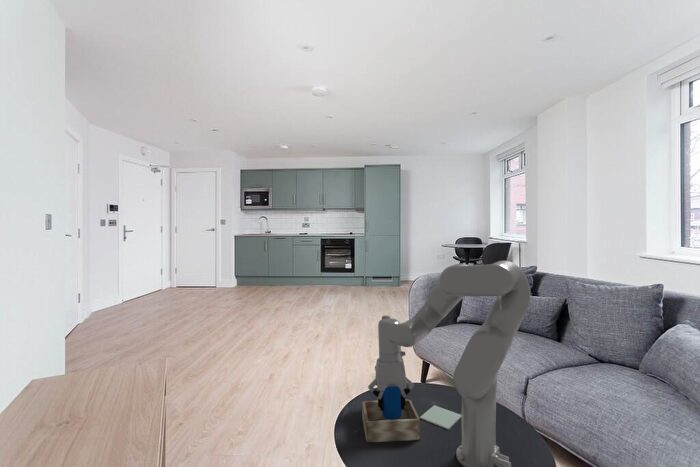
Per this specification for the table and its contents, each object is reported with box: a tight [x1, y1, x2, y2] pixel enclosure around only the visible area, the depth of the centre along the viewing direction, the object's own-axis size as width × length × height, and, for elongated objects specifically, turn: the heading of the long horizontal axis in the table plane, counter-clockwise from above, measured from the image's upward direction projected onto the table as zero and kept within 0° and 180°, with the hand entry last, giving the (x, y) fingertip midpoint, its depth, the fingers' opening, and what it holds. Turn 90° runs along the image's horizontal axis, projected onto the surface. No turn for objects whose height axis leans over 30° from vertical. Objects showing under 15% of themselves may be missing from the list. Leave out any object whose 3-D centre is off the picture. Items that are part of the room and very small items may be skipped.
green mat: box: [419, 404, 462, 431], centre depth 126 cm, size 11×11×1 cm
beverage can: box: [382, 385, 402, 420], centre depth 119 cm, size 6×6×12 cm
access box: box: [361, 398, 421, 443], centre depth 119 cm, size 18×14×6 cm
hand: (391, 407), depth 119 cm, fingers closed on beverage can, 6 cm apart
